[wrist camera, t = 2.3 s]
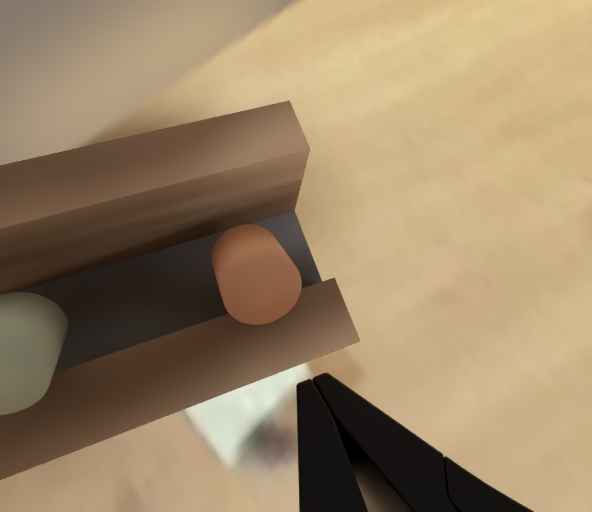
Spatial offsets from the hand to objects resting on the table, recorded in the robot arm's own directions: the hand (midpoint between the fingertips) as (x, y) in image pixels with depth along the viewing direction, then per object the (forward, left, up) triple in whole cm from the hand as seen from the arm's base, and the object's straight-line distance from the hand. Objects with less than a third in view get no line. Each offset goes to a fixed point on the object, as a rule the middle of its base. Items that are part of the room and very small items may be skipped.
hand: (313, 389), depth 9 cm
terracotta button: (+3, +3, -7) cm, 8 cm away
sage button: (-3, +10, -7) cm, 12 cm away
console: (0, +7, -12) cm, 13 cm away
